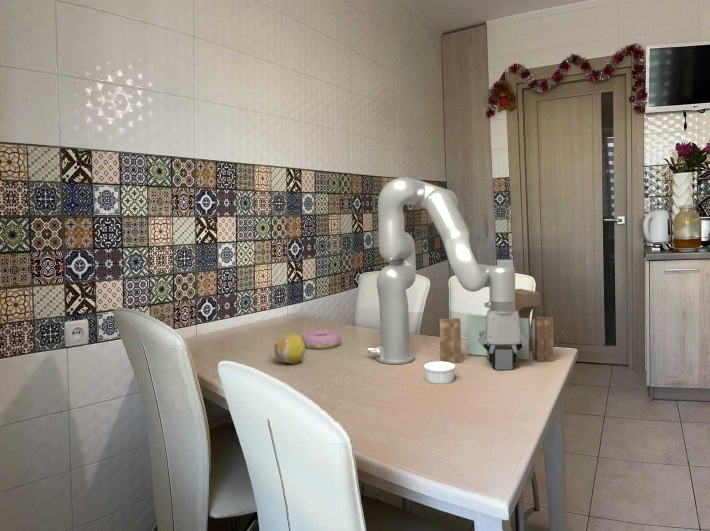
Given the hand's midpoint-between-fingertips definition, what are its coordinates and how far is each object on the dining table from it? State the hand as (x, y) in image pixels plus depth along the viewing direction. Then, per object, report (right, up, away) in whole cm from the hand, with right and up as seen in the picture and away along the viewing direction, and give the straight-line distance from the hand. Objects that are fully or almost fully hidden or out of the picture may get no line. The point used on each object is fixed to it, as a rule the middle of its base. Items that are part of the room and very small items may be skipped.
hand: (502, 364), depth 159 cm
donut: (-58, 0, +38) cm, 69 cm away
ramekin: (-20, -3, -8) cm, 22 cm away
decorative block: (+14, +1, +24) cm, 28 cm away
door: (+2, 0, +11) cm, 11 cm away
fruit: (-67, -3, +15) cm, 68 cm away
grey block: (0, -1, +4) cm, 5 cm away
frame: (0, 0, +8) cm, 8 cm away
